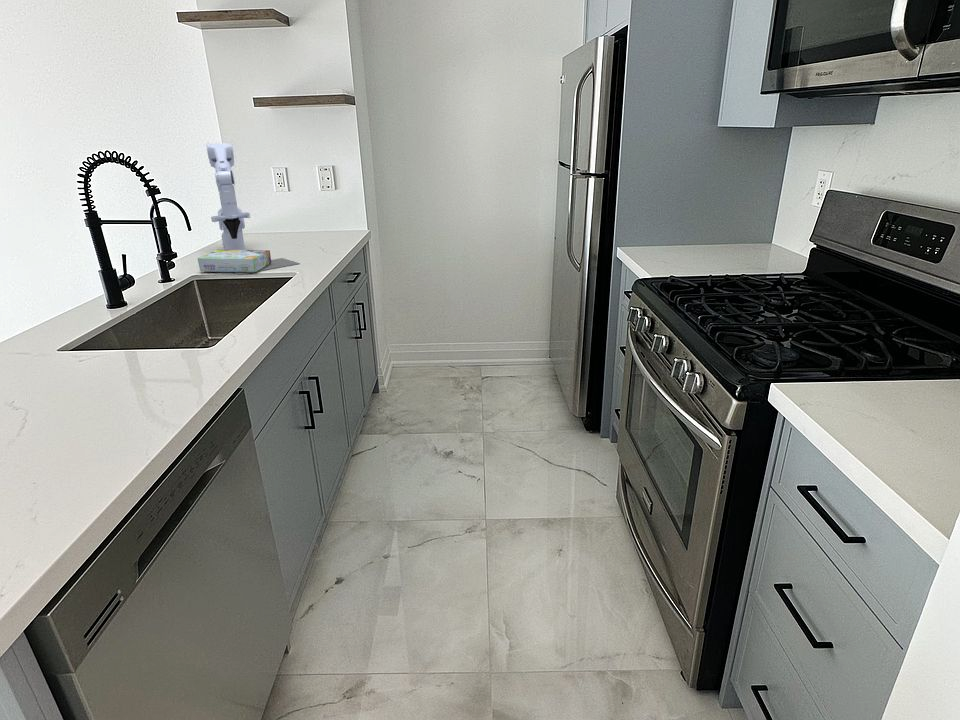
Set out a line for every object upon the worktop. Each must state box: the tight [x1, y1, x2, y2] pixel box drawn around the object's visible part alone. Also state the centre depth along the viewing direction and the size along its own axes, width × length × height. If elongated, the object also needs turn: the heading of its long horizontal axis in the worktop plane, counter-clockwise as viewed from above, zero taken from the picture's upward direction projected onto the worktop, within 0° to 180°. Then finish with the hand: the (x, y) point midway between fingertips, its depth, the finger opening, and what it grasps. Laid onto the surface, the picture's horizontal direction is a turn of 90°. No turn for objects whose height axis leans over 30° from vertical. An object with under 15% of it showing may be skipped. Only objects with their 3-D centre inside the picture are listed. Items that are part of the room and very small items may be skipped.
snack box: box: [197, 249, 272, 273], centre depth 231 cm, size 21×6×15 cm
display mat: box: [233, 257, 301, 276], centre depth 235 cm, size 14×24×1 cm, turn 134°
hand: (234, 238), depth 244 cm, fingers closed
